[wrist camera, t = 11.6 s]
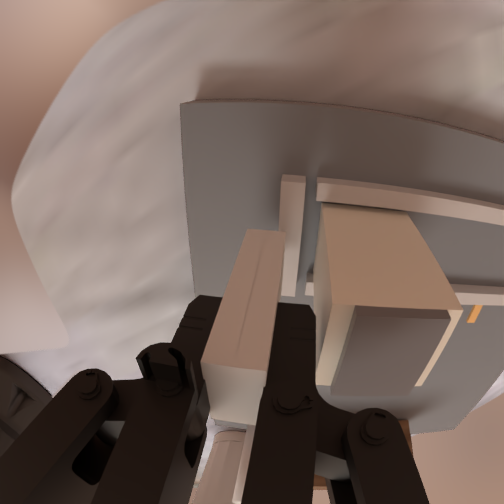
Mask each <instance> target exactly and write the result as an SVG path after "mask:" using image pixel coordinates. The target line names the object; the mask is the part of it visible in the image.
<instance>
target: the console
mask: <svg viewBox="0 0 504 504" xmlns="http://www.w3.org/2000/svg"><path fill="white" fill-rule="evenodd" d="M180 116H181V138H182V156H183V172H184V186H185V199H186V212H187V223H188V234H189V244H190V254H191V263H192V272H193V281H194V289H195V297H198V296H199V295H207V296H215V297H223V296H224V293H225V290H226V287H227V284H228V282H229V279H230V276H231V273H232V270H233V268H234V265H235V262H236V259H237V256H238V254H239V251H240V248H241V245H242V242H243V240H244V237H245V234H246V231H247V229H258V230H271V231H283V232H286V237H285V252H284V266H283V279H282V291H281V299H280V302H284V303H295V304H307V305H310V307H311V308H312V310H313V312H314V287H313V268H314V261H315V253H316V246H317V238H318V230H319V221H320V212H321V203H331V204H341V205H351V206H360V207H369V208H378V209H387V210H395V211H403V212H406V213H407V214H408V216H409V217H410V219H411V220H412V222H413V223H414V225H415V226H416V228H417V229H418V231H419V232H420V234H421V236H422V237H423V239H424V240H425V242H426V244H427V245H428V247H429V249H430V250H431V252H432V254H433V255H434V257H435V259H436V260H437V262H438V264H439V265H440V267H441V269H442V271H443V272H444V274H445V276H446V278H447V280H448V281H449V283H450V285H451V287H452V289H453V291H454V293H455V294H456V296H457V298H458V300H459V302H460V304H461V306H462V308H463V312H462V314H461V317H460V319H459V321H458V323H457V325H456V327H455V328H454V330H453V332H452V334H451V336H450V338H449V340H448V342H447V344H446V345H445V347H444V349H443V351H442V352H441V354H440V356H439V358H438V359H437V361H436V363H435V365H434V366H433V368H432V370H431V371H430V373H429V374H428V376H427V378H426V379H425V381H424V382H423V384H422V386H414V388H413V389H412V391H411V392H410V394H409V395H408V396H334V395H331V389H330V386H326V385H316V388H317V390H318V392H319V394H320V396H321V397H322V398H323V399H324V400H325V401H326V402H327V403H329V404H330V405H332V406H334V407H336V408H339V409H342V410H345V411H348V412H351V413H354V414H356V413H357V412H359V411H361V410H364V409H366V408H380V409H383V410H387V411H388V412H390V413H391V414H392V415H394V416H395V417H396V418H397V420H398V421H400V420H408V421H409V428H410V434H418V433H428V432H437V431H445V430H452V429H455V427H456V426H458V424H459V423H460V422H461V421H462V420H463V419H464V418H465V417H466V416H467V415H468V414H469V412H470V411H471V410H472V409H473V408H474V407H475V406H476V404H477V403H478V402H479V401H480V400H481V398H482V397H483V396H484V395H485V394H486V392H487V391H488V390H489V389H490V387H491V386H492V385H493V383H494V382H495V381H496V380H497V378H498V377H499V376H500V374H501V373H502V372H503V370H504V141H502V140H499V139H496V138H493V137H489V136H486V135H483V134H480V133H476V132H473V131H469V130H466V129H462V128H458V127H454V126H450V125H446V124H442V123H438V122H434V121H429V120H425V119H420V118H416V117H411V116H405V115H400V114H395V113H389V112H383V111H377V110H370V109H364V108H356V107H349V106H340V105H331V104H321V103H310V102H296V101H278V100H241V99H229V100H194V101H190V102H186V103H182V104H180ZM214 420H215V425H220V426H226V427H232V428H239V429H246V434H245V440H244V445H243V450H242V455H241V460H240V465H239V470H238V475H237V480H236V485H235V489H234V494H233V499H232V502H233V503H235V504H241V500H242V495H243V490H244V485H245V480H246V475H247V470H248V464H249V459H250V454H251V448H252V443H253V437H254V432H255V426H256V425H249V424H242V423H235V422H229V421H222V420H216V419H214Z"/></svg>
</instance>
